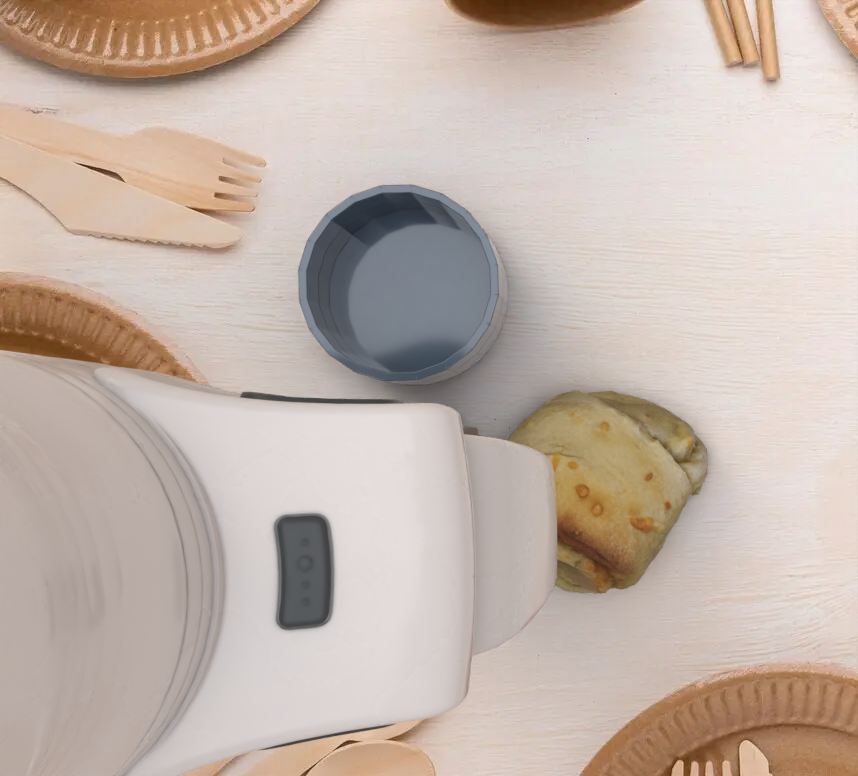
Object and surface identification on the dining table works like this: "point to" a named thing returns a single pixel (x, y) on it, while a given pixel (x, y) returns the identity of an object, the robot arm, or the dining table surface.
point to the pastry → (613, 482)
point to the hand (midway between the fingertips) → (258, 519)
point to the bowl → (402, 285)
